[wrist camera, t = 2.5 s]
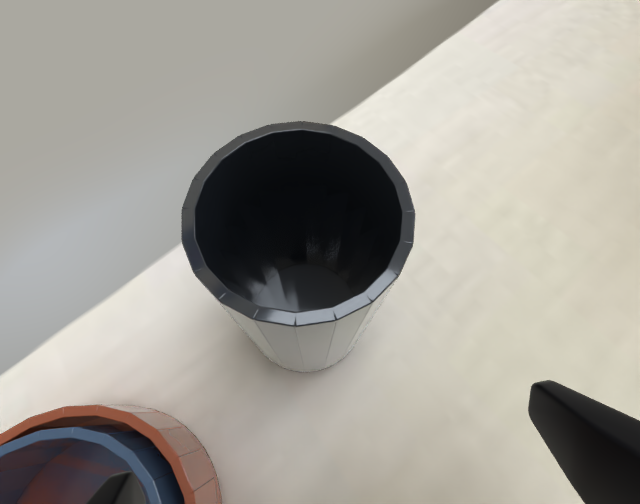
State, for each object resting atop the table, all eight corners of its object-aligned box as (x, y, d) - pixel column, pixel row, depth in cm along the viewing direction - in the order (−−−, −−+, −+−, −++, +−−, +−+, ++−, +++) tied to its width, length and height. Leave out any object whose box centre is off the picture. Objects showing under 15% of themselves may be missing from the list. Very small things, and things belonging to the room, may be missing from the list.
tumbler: (331, 394, 20) (354, 374, 9) (228, 337, 21) (130, 254, 10) (379, 291, 22) (446, 170, 11) (285, 245, 24) (260, 94, 12)
